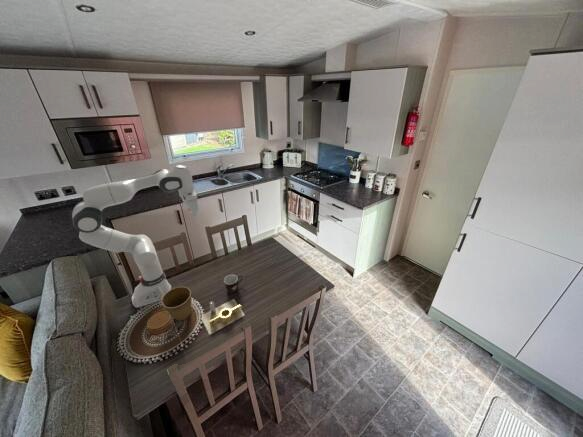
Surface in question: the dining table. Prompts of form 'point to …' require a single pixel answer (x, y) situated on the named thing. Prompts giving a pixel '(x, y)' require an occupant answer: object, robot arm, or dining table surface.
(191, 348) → the dining table surface
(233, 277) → the coffee mug
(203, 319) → the board
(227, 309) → the hinge
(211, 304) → the pin
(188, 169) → the robot arm
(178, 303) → the plant pot
